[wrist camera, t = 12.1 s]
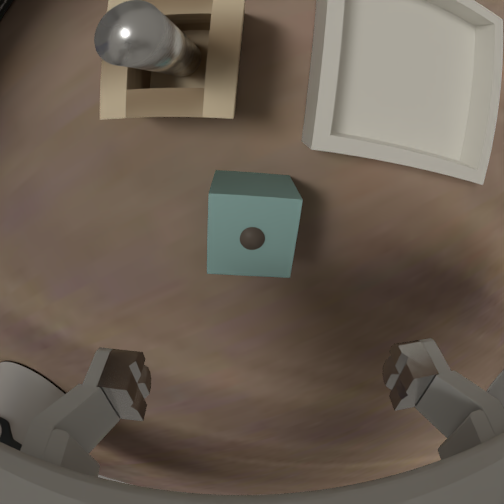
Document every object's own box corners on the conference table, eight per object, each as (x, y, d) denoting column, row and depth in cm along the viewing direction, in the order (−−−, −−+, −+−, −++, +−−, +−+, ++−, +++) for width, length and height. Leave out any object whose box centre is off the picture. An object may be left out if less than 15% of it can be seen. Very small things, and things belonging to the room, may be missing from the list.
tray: (461, 173, 20) (483, 185, 18) (301, 141, 19) (311, 149, 17) (479, 21, 14) (502, 19, 11) (319, -42, 13) (330, -59, 10)
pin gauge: (207, 67, 16) (173, 44, 8) (171, 82, 17) (107, 78, 8) (193, 35, 15) (150, -12, 6) (158, 51, 15) (86, 23, 7)
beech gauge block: (235, 112, 18) (233, 118, 14) (130, 111, 18) (99, 119, 14) (244, 13, 15) (245, -11, 11) (137, 15, 14) (109, -3, 10)
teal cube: (280, 240, 23) (289, 278, 19) (213, 236, 23) (206, 274, 18) (289, 175, 21) (302, 200, 16) (215, 169, 20) (208, 193, 16)
